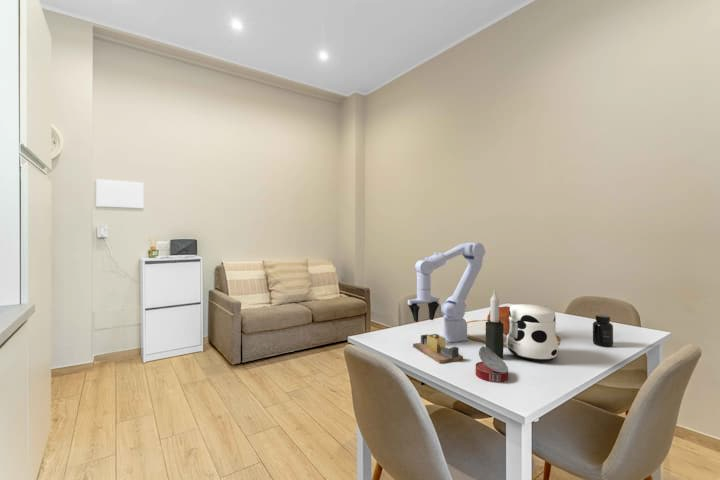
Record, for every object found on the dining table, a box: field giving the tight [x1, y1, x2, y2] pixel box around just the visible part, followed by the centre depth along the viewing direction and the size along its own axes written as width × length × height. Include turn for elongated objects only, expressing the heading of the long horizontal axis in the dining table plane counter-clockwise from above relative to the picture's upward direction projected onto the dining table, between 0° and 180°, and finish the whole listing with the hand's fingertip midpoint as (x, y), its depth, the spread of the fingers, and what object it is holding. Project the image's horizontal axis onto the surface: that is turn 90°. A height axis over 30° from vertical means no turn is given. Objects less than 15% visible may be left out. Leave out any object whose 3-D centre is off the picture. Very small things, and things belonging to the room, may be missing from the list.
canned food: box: [475, 346, 509, 384], centre depth 107 cm, size 11×10×10 cm
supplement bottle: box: [592, 314, 614, 348], centre depth 137 cm, size 7×7×12 cm
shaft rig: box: [412, 333, 464, 364], centre depth 127 cm, size 10×19×4 cm, turn 20°
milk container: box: [506, 303, 559, 362], centre depth 124 cm, size 17×17×18 cm
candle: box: [485, 290, 504, 359], centre depth 123 cm, size 5×5×25 cm
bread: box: [486, 305, 510, 335], centre depth 153 cm, size 16×27×11 cm, turn 18°
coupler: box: [426, 333, 446, 353], centre depth 128 cm, size 6×4×6 cm, turn 27°
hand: (423, 320), depth 140 cm, fingers open, 7 cm apart
